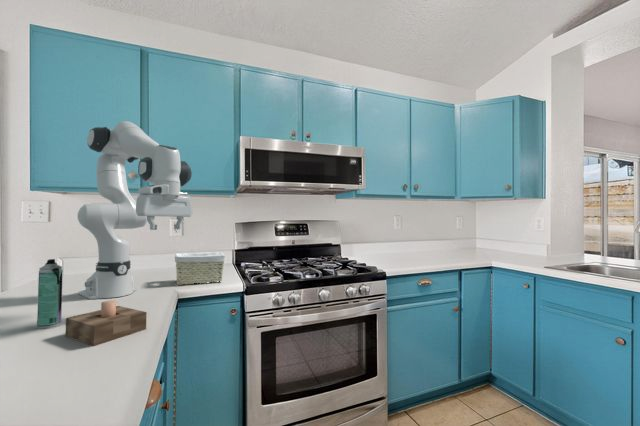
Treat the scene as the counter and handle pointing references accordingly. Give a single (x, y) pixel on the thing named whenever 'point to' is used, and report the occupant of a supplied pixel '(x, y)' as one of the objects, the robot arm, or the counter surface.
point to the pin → (108, 309)
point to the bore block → (105, 325)
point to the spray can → (49, 295)
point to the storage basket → (199, 267)
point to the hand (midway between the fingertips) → (165, 229)
